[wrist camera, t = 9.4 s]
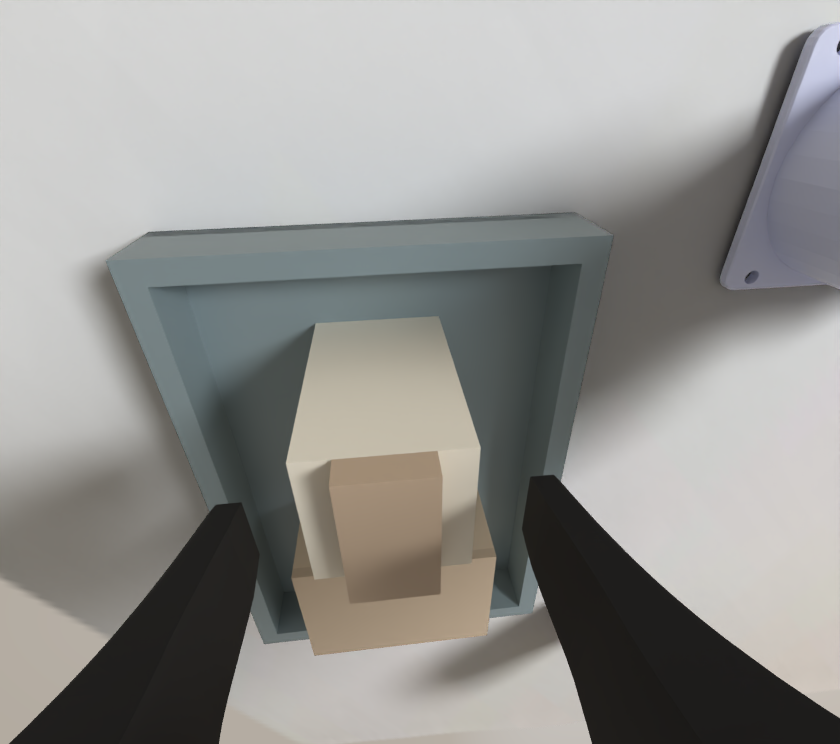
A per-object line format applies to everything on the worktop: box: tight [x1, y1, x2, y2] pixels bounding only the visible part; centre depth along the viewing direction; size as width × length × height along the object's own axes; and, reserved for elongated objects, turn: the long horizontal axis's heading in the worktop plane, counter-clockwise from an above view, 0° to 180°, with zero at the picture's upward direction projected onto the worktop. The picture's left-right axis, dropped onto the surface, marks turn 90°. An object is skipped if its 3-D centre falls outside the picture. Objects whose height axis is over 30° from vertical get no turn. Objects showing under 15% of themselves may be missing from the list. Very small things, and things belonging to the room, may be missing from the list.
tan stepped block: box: [291, 489, 496, 656], centre depth 21 cm, size 8×6×4 cm
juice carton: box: [286, 316, 481, 604], centre depth 14 cm, size 4×4×8 cm
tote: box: [106, 212, 614, 644], centre depth 19 cm, size 14×20×3 cm
